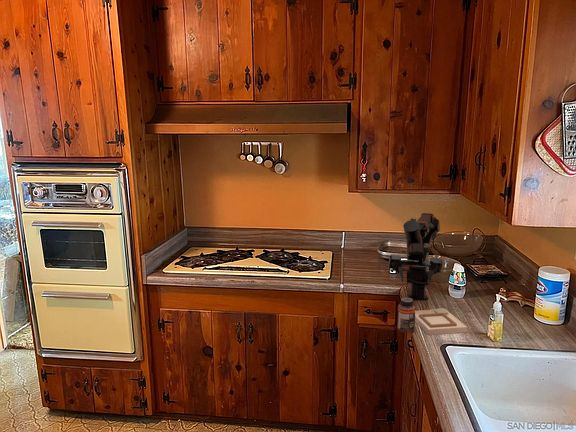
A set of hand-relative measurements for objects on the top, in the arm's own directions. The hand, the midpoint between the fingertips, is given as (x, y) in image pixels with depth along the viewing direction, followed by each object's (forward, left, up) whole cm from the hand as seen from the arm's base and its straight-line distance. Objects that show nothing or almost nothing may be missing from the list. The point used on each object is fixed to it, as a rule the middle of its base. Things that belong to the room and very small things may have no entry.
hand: (415, 282), depth 155 cm
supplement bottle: (+6, -6, -15) cm, 17 cm away
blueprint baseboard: (+3, +7, -15) cm, 17 cm away
